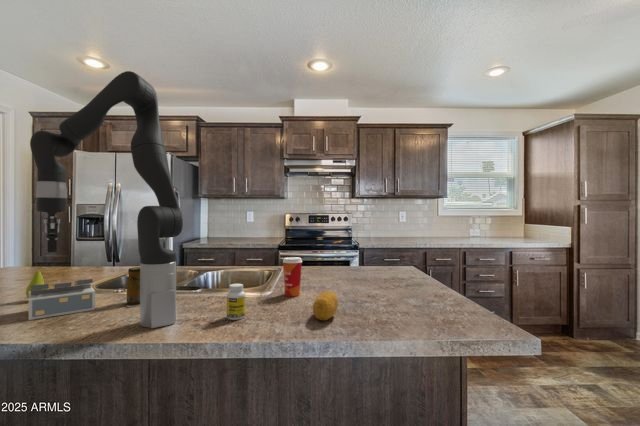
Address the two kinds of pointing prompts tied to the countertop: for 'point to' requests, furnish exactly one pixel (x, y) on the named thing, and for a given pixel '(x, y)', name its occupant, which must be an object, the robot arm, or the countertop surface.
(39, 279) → the fruit
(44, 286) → the switch left
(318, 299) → the potato
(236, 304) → the supplement bottle
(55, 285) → the switch middle
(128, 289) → the condiment
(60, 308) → the switch unit
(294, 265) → the paper cup
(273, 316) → the countertop surface
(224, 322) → the countertop surface
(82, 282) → the switch right
